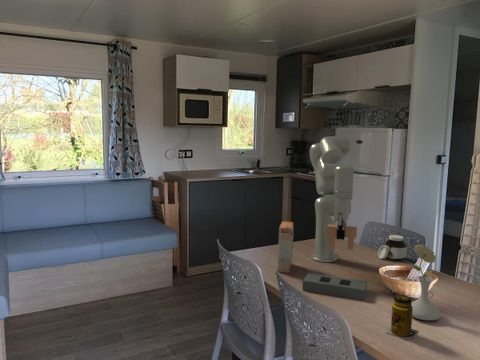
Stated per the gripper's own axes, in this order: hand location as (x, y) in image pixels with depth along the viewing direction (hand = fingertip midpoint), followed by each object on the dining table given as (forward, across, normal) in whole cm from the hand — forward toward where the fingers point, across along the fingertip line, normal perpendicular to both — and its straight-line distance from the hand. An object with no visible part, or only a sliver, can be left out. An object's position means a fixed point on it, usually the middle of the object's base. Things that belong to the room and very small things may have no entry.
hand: (341, 237), depth 175 cm
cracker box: (+19, -6, -26) cm, 33 cm away
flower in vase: (+19, +22, +32) cm, 43 cm away
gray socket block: (+19, +12, 0) cm, 23 cm away
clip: (+4, 0, 0) cm, 4 cm away
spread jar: (+19, -42, +19) cm, 50 cm away
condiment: (+19, +38, +26) cm, 50 cm away
